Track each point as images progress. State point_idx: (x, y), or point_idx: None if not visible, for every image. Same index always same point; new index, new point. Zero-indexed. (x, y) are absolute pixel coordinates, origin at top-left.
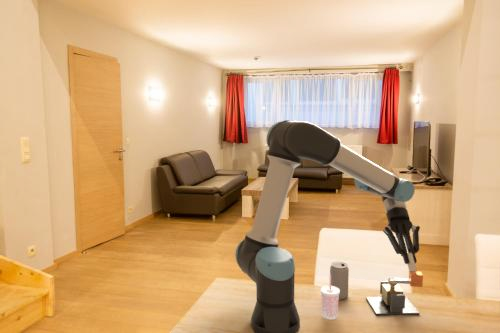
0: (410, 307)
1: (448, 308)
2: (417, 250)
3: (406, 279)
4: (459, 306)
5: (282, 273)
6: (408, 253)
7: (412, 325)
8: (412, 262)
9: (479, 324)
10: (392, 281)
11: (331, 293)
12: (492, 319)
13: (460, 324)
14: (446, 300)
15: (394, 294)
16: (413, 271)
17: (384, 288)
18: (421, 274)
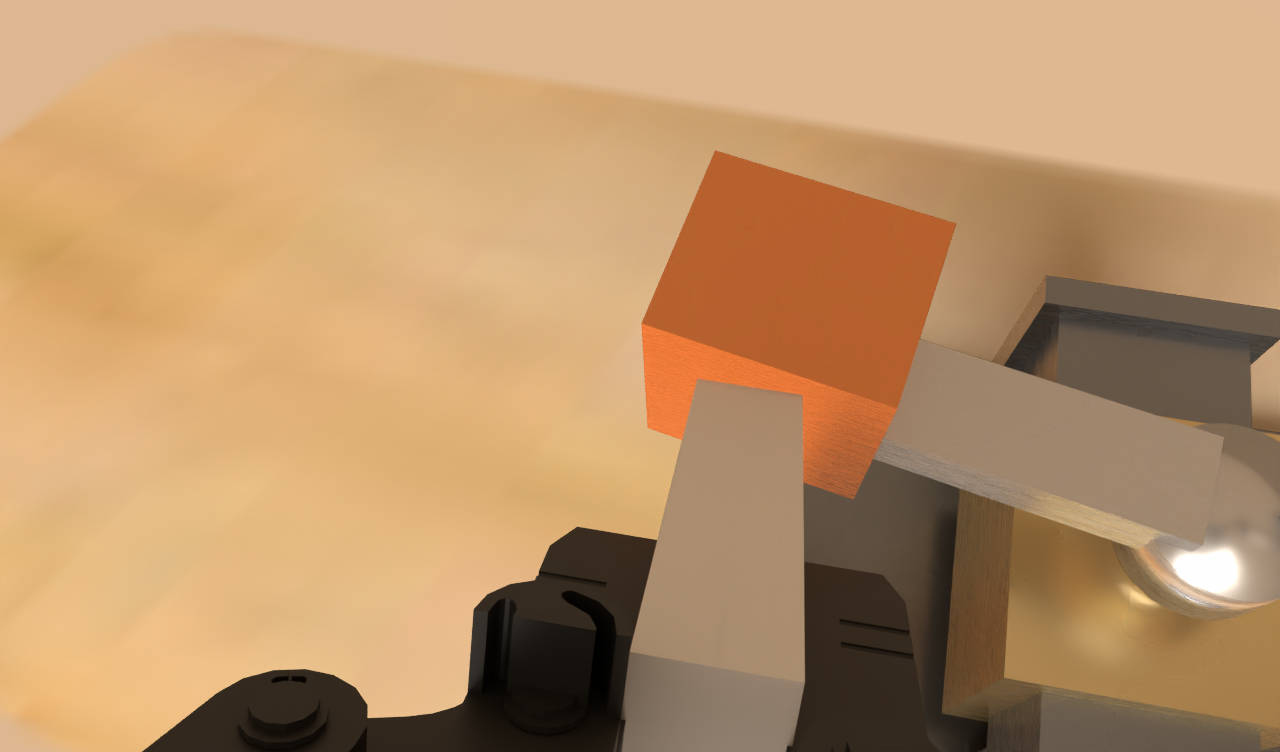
0: (822, 493)
1: (299, 436)
2: (319, 689)
3: (956, 415)
4: (120, 452)
5: None
6: (777, 668)
7: (977, 201)
8: (739, 485)
9: (250, 97)
10: (1266, 448)
11: None
12: (29, 147)
13: (443, 129)
14: (146, 634)
15: (1187, 386)
16: (811, 356)
17: None
18: (718, 194)
